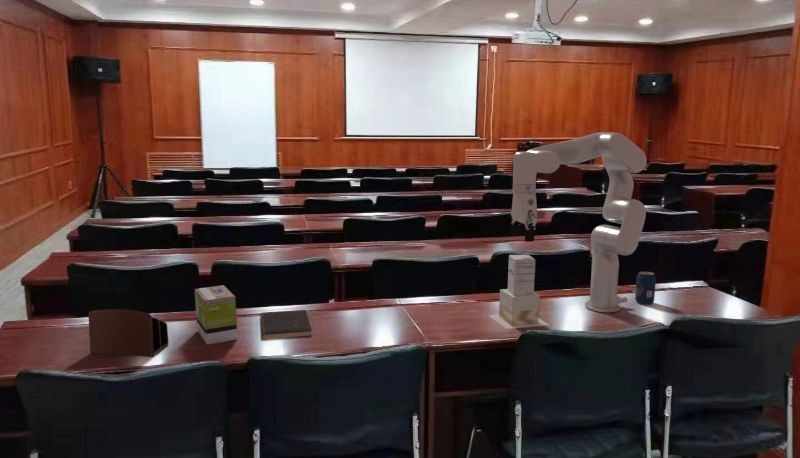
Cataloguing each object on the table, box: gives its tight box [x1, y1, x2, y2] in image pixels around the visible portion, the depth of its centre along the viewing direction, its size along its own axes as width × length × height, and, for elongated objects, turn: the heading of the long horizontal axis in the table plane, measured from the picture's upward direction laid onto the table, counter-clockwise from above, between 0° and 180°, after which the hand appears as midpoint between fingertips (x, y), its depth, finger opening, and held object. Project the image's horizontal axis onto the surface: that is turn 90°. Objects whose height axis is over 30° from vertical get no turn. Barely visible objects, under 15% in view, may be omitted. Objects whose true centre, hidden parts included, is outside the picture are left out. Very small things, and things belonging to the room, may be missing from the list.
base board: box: [488, 314, 550, 330], centre depth 215 cm, size 16×15×1 cm
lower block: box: [498, 303, 540, 326], centre depth 214 cm, size 10×10×5 cm
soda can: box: [634, 270, 657, 305], centre depth 239 cm, size 7×7×12 cm
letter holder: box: [88, 308, 169, 358], centre depth 186 cm, size 10×20×14 cm, turn 84°
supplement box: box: [507, 254, 536, 295], centre depth 212 cm, size 7×7×13 cm
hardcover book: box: [259, 309, 313, 340], centre depth 210 cm, size 16×23×2 cm
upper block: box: [499, 288, 540, 312], centre depth 214 cm, size 10×10×5 cm
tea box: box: [194, 284, 238, 345], centre depth 199 cm, size 15×10×15 cm
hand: (522, 238), depth 210 cm, fingers open, 9 cm apart
